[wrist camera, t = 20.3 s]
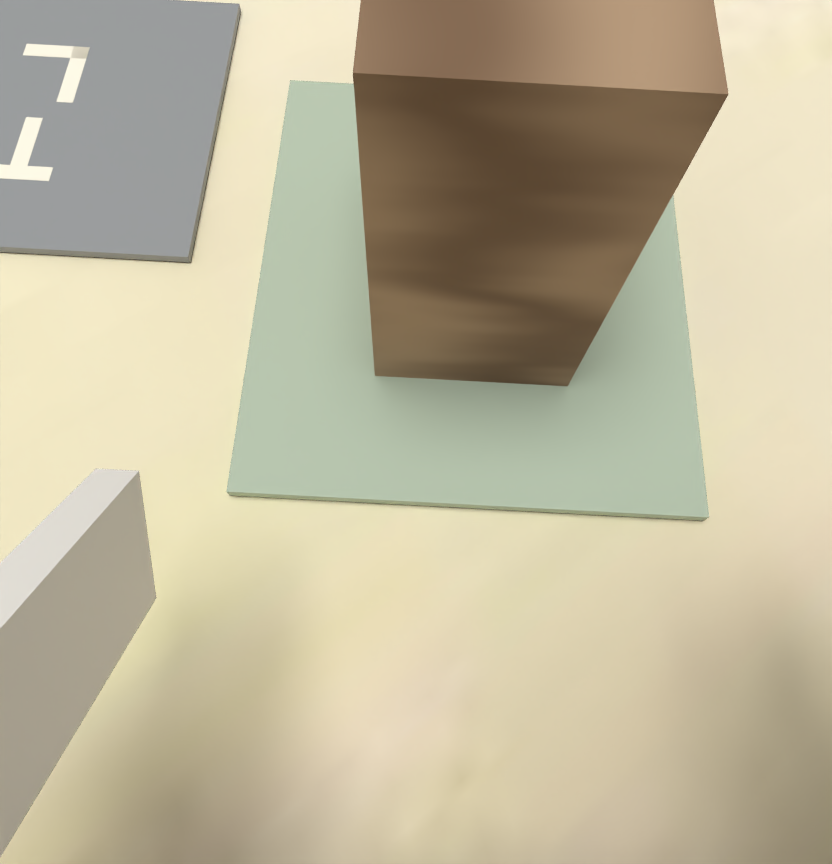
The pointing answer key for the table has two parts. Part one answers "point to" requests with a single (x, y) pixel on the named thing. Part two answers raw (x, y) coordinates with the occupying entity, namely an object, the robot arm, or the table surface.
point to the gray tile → (109, 123)
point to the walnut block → (519, 170)
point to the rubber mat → (448, 399)
